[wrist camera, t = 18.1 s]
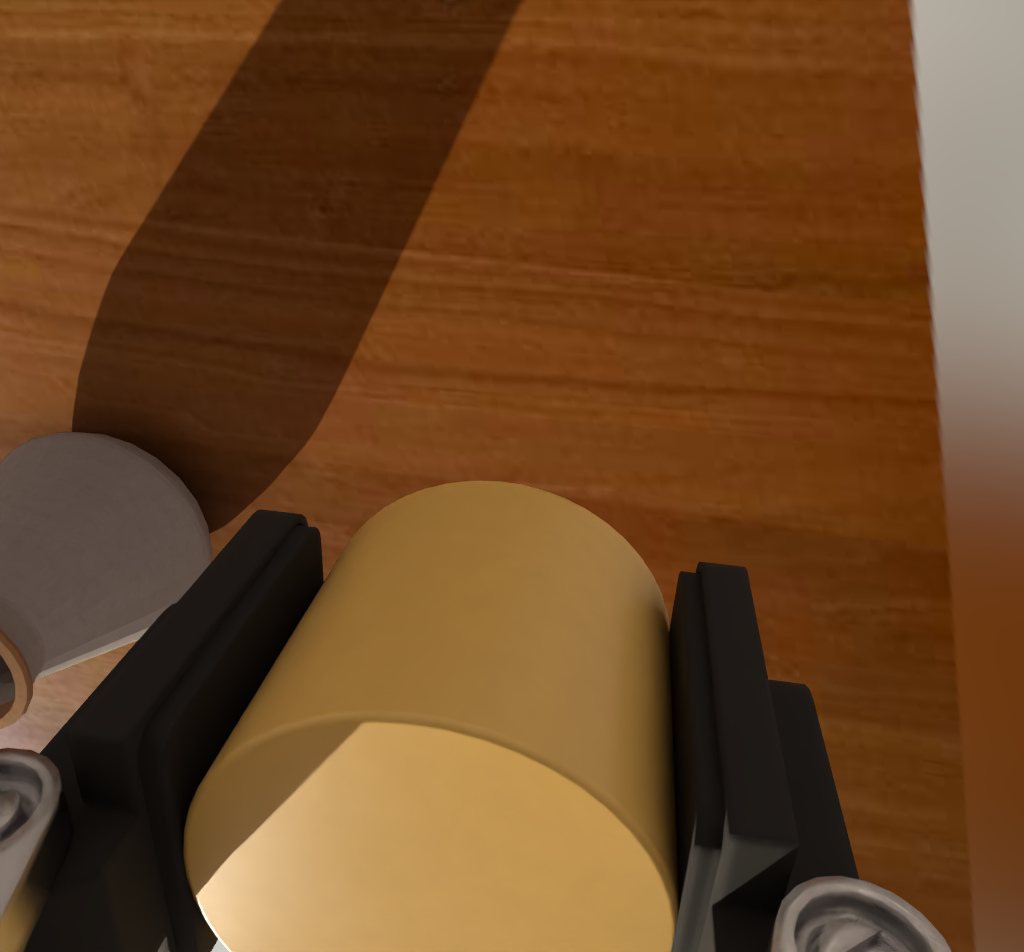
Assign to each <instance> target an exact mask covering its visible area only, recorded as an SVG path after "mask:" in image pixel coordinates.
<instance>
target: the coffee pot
mask: <svg viewBox="0 0 1024 952" xmlns="http://www.w3.org/2000/svg"><path fill="white" fill-rule="evenodd" d="M211 555H212V547H211V541H210V535H209V529H208V525H207V523H206V520H205V518H204V516H203V514H202V511H201V509H200V507H199V505H198V502H197V501H196V499H195V498H194V497H193V495H192V494H191V493H190V491H189V490H188V489H187V487H186V486H185V485H184V483H183V482H182V481H181V479H180V478H179V477H178V476H177V475H175V474H174V473H173V472H172V471H171V470H170V469H169V468H168V467H166V466H165V465H164V464H163V463H162V462H161V461H160V460H158V459H157V458H156V457H154V456H152V455H150V454H149V453H147V452H145V451H144V450H142V449H140V448H138V447H137V446H135V445H133V444H131V443H129V442H125V441H122V440H119V439H116V438H113V437H110V436H107V435H104V434H93V433H81V432H61V433H56V434H51V435H46V436H41V437H36V438H33V439H31V440H29V441H28V442H26V443H24V444H22V445H21V446H19V447H17V448H15V449H14V450H12V451H11V452H10V453H9V454H8V455H7V456H6V457H5V459H4V460H3V461H2V462H1V464H0V729H1V728H4V727H6V726H9V725H11V724H13V723H15V722H17V721H18V720H19V719H20V718H21V717H22V716H23V715H24V714H25V713H26V711H27V709H28V706H29V704H30V701H31V699H32V696H33V683H34V681H35V680H36V679H38V678H40V677H43V676H46V675H48V674H51V673H53V672H56V671H59V670H61V669H64V668H67V667H69V666H72V665H74V664H77V663H80V662H82V661H85V660H87V659H90V658H93V657H95V656H98V655H100V654H103V653H106V652H108V651H111V650H113V649H116V648H119V647H121V646H124V645H126V644H129V643H132V642H134V641H137V640H139V639H140V638H141V637H142V635H143V634H144V633H145V632H146V631H147V630H148V629H149V627H150V626H151V625H152V624H153V623H154V622H155V621H156V619H157V618H158V617H159V616H160V615H161V614H162V612H163V611H165V610H166V609H167V608H168V607H169V606H170V605H172V604H174V603H177V602H178V601H179V600H180V599H181V597H182V596H183V595H184V594H185V593H186V592H187V590H188V589H189V588H190V587H191V586H192V585H193V583H194V582H195V581H196V580H197V579H198V578H199V576H200V575H201V574H202V573H203V572H204V571H205V569H206V568H207V567H208V566H209V565H210V564H211Z"/></svg>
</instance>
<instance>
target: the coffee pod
mask: <svg viewBox="0 0 1024 952" xmlns="http://www.w3.org/2000/svg"><path fill="white" fill-rule="evenodd" d="M669 630H670V629H669V622H668V614H667V610H666V607H665V604H664V600H663V597H662V594H661V591H660V589H659V587H658V585H657V583H656V581H655V579H654V577H653V575H652V573H651V572H650V570H649V569H648V567H647V566H646V564H645V563H644V561H643V560H642V558H641V557H640V555H639V554H638V553H637V552H636V551H635V550H634V549H633V547H632V546H631V545H630V544H629V543H628V542H627V541H626V540H625V539H624V538H623V537H622V536H621V535H620V534H619V533H618V532H616V531H615V530H614V529H613V528H612V527H611V526H610V525H609V524H607V523H606V522H605V521H603V520H602V519H600V518H599V517H597V516H596V515H594V514H593V513H591V512H590V511H588V510H587V509H585V508H583V507H581V506H579V505H577V504H575V503H573V502H571V501H569V500H567V499H565V498H563V497H560V496H557V495H555V494H552V493H549V492H547V491H544V490H541V489H537V488H533V487H529V486H525V485H521V484H514V483H506V482H499V481H465V482H456V483H447V484H443V485H439V486H435V487H431V488H426V489H423V490H421V491H418V492H415V493H413V494H410V495H407V496H405V497H403V498H401V499H399V500H397V501H395V502H394V503H392V504H390V505H388V506H386V507H385V508H383V509H382V510H381V511H379V512H378V513H377V514H375V515H374V516H373V517H371V518H370V519H369V520H368V521H367V522H366V523H365V524H364V525H363V526H362V527H361V528H360V529H359V530H358V531H357V532H356V533H355V535H354V536H353V537H352V539H351V540H350V542H349V543H348V545H347V546H346V547H345V549H344V550H343V552H342V554H341V555H340V557H339V559H338V560H337V562H336V563H335V565H334V567H333V568H332V570H331V572H330V573H329V575H328V577H327V578H326V580H325V581H324V583H323V585H322V586H321V588H320V590H319V591H318V593H317V594H316V596H315V598H314V599H313V601H312V603H311V604H310V606H309V607H308V609H307V611H306V612H305V614H304V616H303V617H302V619H301V620H300V622H299V624H298V625H297V627H296V629H295V630H294V632H293V633H292V635H291V637H290V638H289V640H288V642H287V643H286V645H285V646H284V648H283V650H282V651H281V653H280V655H279V656H278V658H277V660H276V661H275V663H274V664H273V666H272V668H271V669H270V671H269V673H268V674H267V676H266V677H265V679H264V681H263V682H262V684H261V686H260V687H259V689H258V690H257V692H256V694H255V695H254V697H253V699H252V700H251V702H250V703H249V705H248V707H247V708H246V710H245V712H244V713H243V715H242V716H241V718H240V720H239V721H238V723H237V725H236V726H235V728H234V729H233V731H232V733H231V734H230V736H229V738H228V739H227V741H226V743H225V744H224V746H223V747H222V749H221V751H220V752H219V754H218V756H217V757H216V759H215V760H214V762H213V764H212V765H211V767H210V769H209V770H208V772H207V773H206V775H205V777H204V778H203V780H202V782H201V783H200V785H199V786H198V789H197V791H196V793H195V795H194V797H193V800H192V802H191V804H190V806H189V810H188V814H187V819H186V823H185V828H184V847H183V857H184V863H185V869H186V875H187V879H188V882H189V885H190V888H191V891H192V894H193V897H194V899H195V901H196V903H197V905H198V907H199V909H200V911H201V913H202V915H203V917H204V919H205V920H206V922H207V923H208V925H209V926H210V928H211V929H212V931H213V932H214V934H215V935H216V936H217V938H218V939H219V940H220V942H221V943H222V944H223V945H224V946H225V947H226V949H227V950H228V951H229V952H671V949H672V944H673V939H674V934H675V929H676V924H677V919H678V911H679V885H678V859H677V832H676V805H675V778H674V752H673V725H672V698H671V671H670V644H669Z"/></svg>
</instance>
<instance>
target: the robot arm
mask: <svg viewBox="0 0 1024 952" xmlns="http://www.w3.org/2000/svg"><path fill="white" fill-rule="evenodd" d="M323 583H324V581H323V565H322V550H321V537H320V532H319V530H318V529H317V528H316V527H308V523H307V521H306V518H305V517H304V516H303V515H302V514H294V513H285V512H277V511H268V510H257V511H256V512H255V513H254V514H253V515H252V516H251V517H250V518H249V519H248V521H247V522H246V523H245V524H244V525H243V526H242V528H241V529H240V530H239V531H238V532H237V533H236V535H235V536H234V537H233V538H232V539H231V540H230V542H229V543H228V544H227V545H226V546H225V547H224V549H223V550H222V551H221V552H220V553H219V554H218V556H217V557H216V558H215V559H214V560H213V561H212V563H211V564H210V565H209V566H208V567H207V568H206V569H205V571H204V572H203V573H202V574H201V575H200V576H199V578H198V579H197V580H196V581H195V582H194V583H193V585H192V586H191V587H190V588H189V589H188V590H187V592H186V593H185V594H184V595H183V596H182V597H181V599H180V600H179V601H178V602H177V603H174V604H172V605H170V606H169V607H168V608H167V609H166V610H165V611H163V612H162V614H161V615H160V616H159V617H158V618H157V619H156V621H155V622H154V623H153V624H152V625H151V626H150V627H149V629H148V630H147V631H146V632H145V633H144V634H143V635H142V637H141V638H140V639H139V640H138V641H137V642H136V643H135V645H134V646H133V647H132V648H131V649H130V650H129V652H128V653H127V654H126V655H125V656H124V657H123V658H122V660H121V661H120V662H119V663H118V664H117V665H116V666H115V668H114V669H113V670H112V671H111V672H110V673H109V674H108V676H107V677H106V678H105V679H104V680H103V681H102V683H101V684H100V685H99V686H98V687H97V688H96V689H95V691H94V692H93V693H92V694H91V695H90V696H89V697H88V699H87V700H86V701H85V702H84V703H83V704H82V705H81V707H80V708H79V709H78V710H77V711H76V712H75V714H74V715H73V716H72V717H71V718H70V719H69V720H68V722H67V723H66V724H65V725H64V726H63V727H62V728H61V730H60V731H59V732H58V733H57V734H56V735H55V736H54V738H53V739H52V740H51V741H50V742H49V743H48V745H47V746H46V747H45V748H44V749H43V750H42V751H41V753H40V754H39V753H36V752H34V751H32V750H24V749H13V748H5V749H0V952H211V951H212V949H213V947H214V945H215V944H216V942H217V940H218V938H217V936H216V935H215V934H214V932H213V931H212V929H211V928H210V926H209V925H208V923H207V922H206V920H205V919H204V917H203V915H202V913H201V911H200V909H199V907H198V905H197V903H196V901H195V899H194V897H193V894H192V891H191V888H190V885H189V882H188V879H187V875H186V869H185V863H184V857H183V847H184V828H185V823H186V819H187V814H188V810H189V806H190V804H191V802H192V800H193V797H194V795H195V793H196V791H197V789H198V786H199V785H200V783H201V782H202V780H203V778H204V777H205V775H206V773H207V772H208V770H209V769H210V767H211V765H212V764H213V762H214V760H215V759H216V757H217V756H218V754H219V752H220V751H221V749H222V747H223V746H224V744H225V743H226V741H227V739H228V738H229V736H230V734H231V733H232V731H233V729H234V728H235V726H236V725H237V723H238V721H239V720H240V718H241V716H242V715H243V713H244V712H245V710H246V708H247V707H248V705H249V703H250V702H251V700H252V699H253V697H254V695H255V694H256V692H257V690H258V689H259V687H260V686H261V684H262V682H263V681H264V679H265V677H266V676H267V674H268V673H269V671H270V669H271V668H272V666H273V664H274V663H275V661H276V660H277V658H278V656H279V655H280V653H281V651H282V650H283V648H284V646H285V645H286V643H287V642H288V640H289V638H290V637H291V635H292V633H293V632H294V630H295V629H296V627H297V625H298V624H299V622H300V620H301V619H302V617H303V616H304V614H305V612H306V611H307V609H308V607H309V606H310V604H311V603H312V601H313V599H314V598H315V596H316V594H317V593H318V591H319V590H320V588H321V586H322V585H323ZM669 644H670V671H671V698H672V725H673V752H674V778H675V805H676V832H677V859H678V885H679V911H678V919H677V924H676V929H675V934H674V939H673V944H672V949H671V952H952V951H951V950H950V948H949V946H948V945H947V943H946V941H945V939H944V938H943V936H942V935H941V934H940V933H939V932H938V931H937V930H936V929H935V927H934V926H933V925H932V924H931V923H930V922H929V921H928V920H927V919H926V918H925V917H924V916H923V914H922V913H921V912H919V911H918V910H916V909H915V908H914V907H912V906H911V905H910V904H908V903H907V902H905V901H904V900H903V899H901V898H900V897H898V896H897V895H896V894H894V893H892V892H890V891H887V890H885V889H883V888H881V887H879V886H876V885H874V884H872V883H870V882H867V881H863V880H859V877H858V873H857V869H856V865H855V861H854V857H853V853H852V849H851V845H850V842H849V838H848V834H847V830H846V826H845V822H844V818H843V814H842V810H841V806H840V803H839V799H838V795H837V791H836V787H835V783H834V779H833V775H832V771H831V767H830V764H829V760H828V756H827V752H826V748H825V744H824V740H823V736H822V732H821V728H820V724H819V721H818V717H817V713H816V709H815V705H814V701H813V698H812V695H811V692H810V690H809V688H808V687H807V686H806V685H805V684H797V683H790V682H782V681H775V680H768V676H767V671H766V666H765V661H764V656H763V650H762V645H761V640H760V635H759V630H758V624H757V619H756V614H755V609H754V604H753V598H752V593H751V588H750V583H749V578H748V573H747V569H746V568H745V567H740V566H732V565H723V564H715V563H706V562H699V563H698V566H697V569H696V573H690V572H682V571H681V572H680V574H679V578H678V583H677V589H676V595H675V601H674V606H673V612H672V618H671V624H670V630H669Z"/></svg>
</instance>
